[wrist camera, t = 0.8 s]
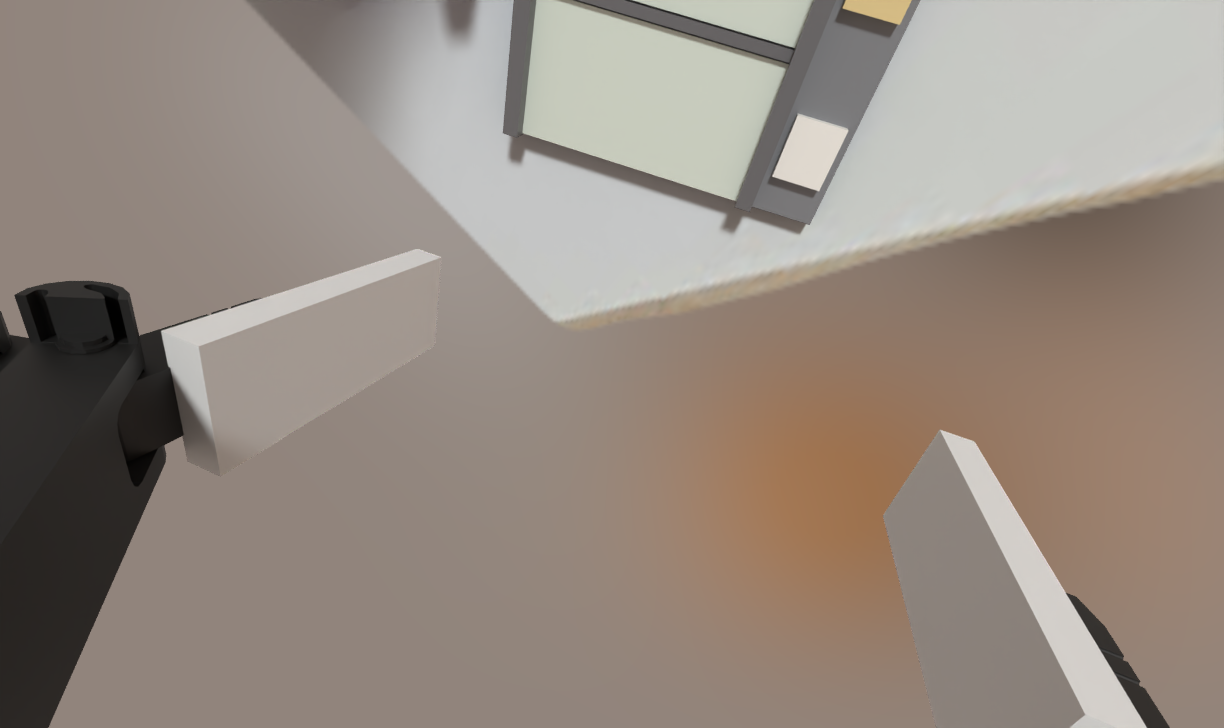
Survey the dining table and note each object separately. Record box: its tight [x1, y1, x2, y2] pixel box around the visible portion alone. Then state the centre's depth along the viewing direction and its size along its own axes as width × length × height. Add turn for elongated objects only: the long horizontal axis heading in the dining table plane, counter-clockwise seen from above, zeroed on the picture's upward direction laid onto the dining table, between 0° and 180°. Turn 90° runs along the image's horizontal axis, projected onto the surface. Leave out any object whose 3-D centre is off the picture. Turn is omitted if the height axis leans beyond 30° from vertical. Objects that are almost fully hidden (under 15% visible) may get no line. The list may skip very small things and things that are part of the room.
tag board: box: [503, 0, 920, 225], centre depth 29 cm, size 17×21×2 cm
